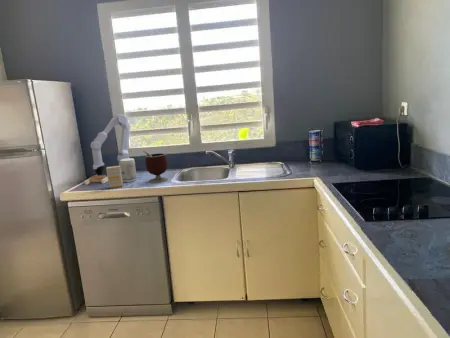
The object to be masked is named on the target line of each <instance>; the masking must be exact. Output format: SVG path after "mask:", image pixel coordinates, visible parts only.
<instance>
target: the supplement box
mask: <svg viewBox="0 0 450 338" xmlns="http://www.w3.org/2000/svg"><path fill="white" fill-rule="evenodd" d="M105 171H106V177H108V181H107V182H108V188H109V189H113V188H123V186H124V182H123V181H122V174H121V168H120V166H119V165H113V166H106V168H105Z"/></svg>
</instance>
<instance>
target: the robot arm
mask: <svg viewBox="0 0 450 338" xmlns="http://www.w3.org/2000/svg"><path fill="white" fill-rule="evenodd" d="M117 125H119V126H120V127H121V128H122V129H121V139H120V146H119V147H120V150H119V151H118V155H117V157H116V160H117V162H118V166H120V160H122V159H127V158H130V153H129V150H128V149H129V141H130V132H131V131H130V130H131V125H130V123H129V119H128V117H127V116H126V115H125V114H122V113H119V114H118V113H116V114H114V116H113V117H112V118H111V119H110V121H109V122H108V124H107V125H106V127H105V128H104V130H103V131H100V132H98V133H97V135H96V136H95V138H93V141H91V143H90V145H89V147H90V148H91V152H92V153H91V154H92V159H93V160H92V161H93V164H92V169H93V170H94V171H95V173H96V176H97V175H104V174H103V172H104V169H105V162H103V157H102V151H101V150H102V149H101V148H102V145H103V144H104V143H105V141H106V140H107V138H108V134H110V133H109V132H111V130H112V129H113V128H114V127H115V126H117ZM120 168H121V166H120Z"/></svg>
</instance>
